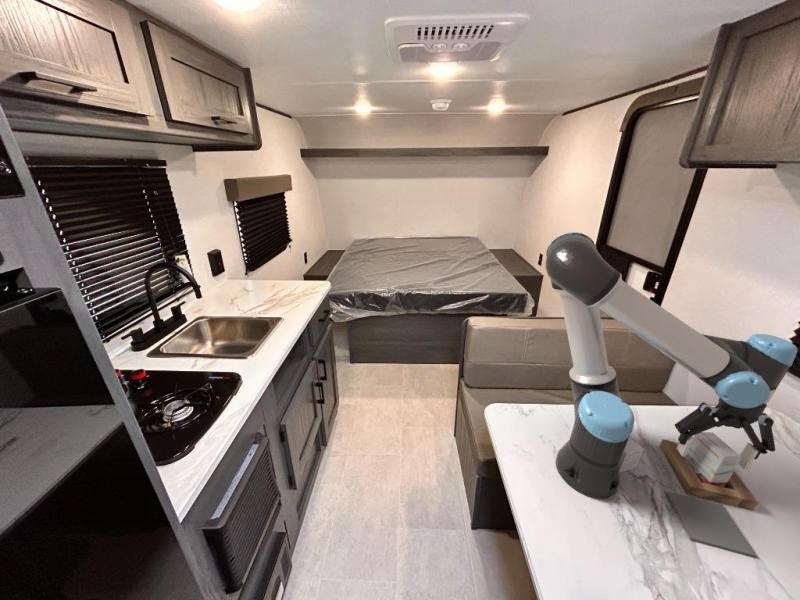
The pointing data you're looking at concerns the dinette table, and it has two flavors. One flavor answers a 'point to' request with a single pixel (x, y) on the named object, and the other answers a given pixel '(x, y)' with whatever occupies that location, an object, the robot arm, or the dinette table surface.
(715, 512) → the mat
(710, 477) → the ink box
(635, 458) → the product box
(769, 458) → the dinette table surface
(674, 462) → the wooden holder frame
